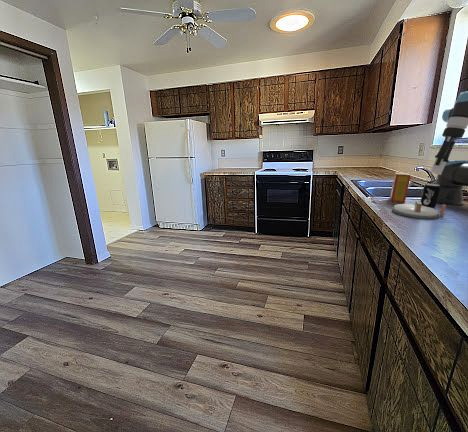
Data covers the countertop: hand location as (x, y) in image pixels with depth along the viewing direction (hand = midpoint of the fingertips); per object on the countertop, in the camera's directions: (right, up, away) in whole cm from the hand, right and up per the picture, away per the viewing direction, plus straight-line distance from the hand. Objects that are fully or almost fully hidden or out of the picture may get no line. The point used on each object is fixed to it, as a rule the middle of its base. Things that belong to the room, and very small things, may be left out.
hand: (435, 173), depth 119 cm
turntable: (-13, -18, -3) cm, 23 cm away
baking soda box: (-4, -12, +22) cm, 25 cm away
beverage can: (+2, -16, +8) cm, 18 cm away
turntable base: (-13, -19, -3) cm, 24 cm away
